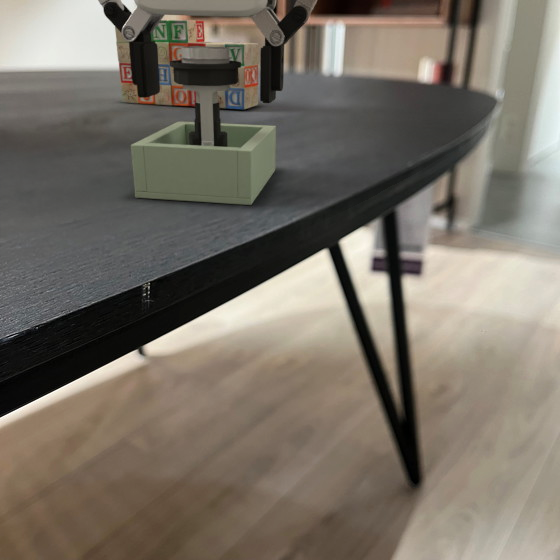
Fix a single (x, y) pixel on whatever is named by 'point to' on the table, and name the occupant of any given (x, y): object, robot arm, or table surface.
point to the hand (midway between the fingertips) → (208, 98)
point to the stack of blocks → (169, 49)
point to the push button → (206, 89)
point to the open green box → (204, 164)
